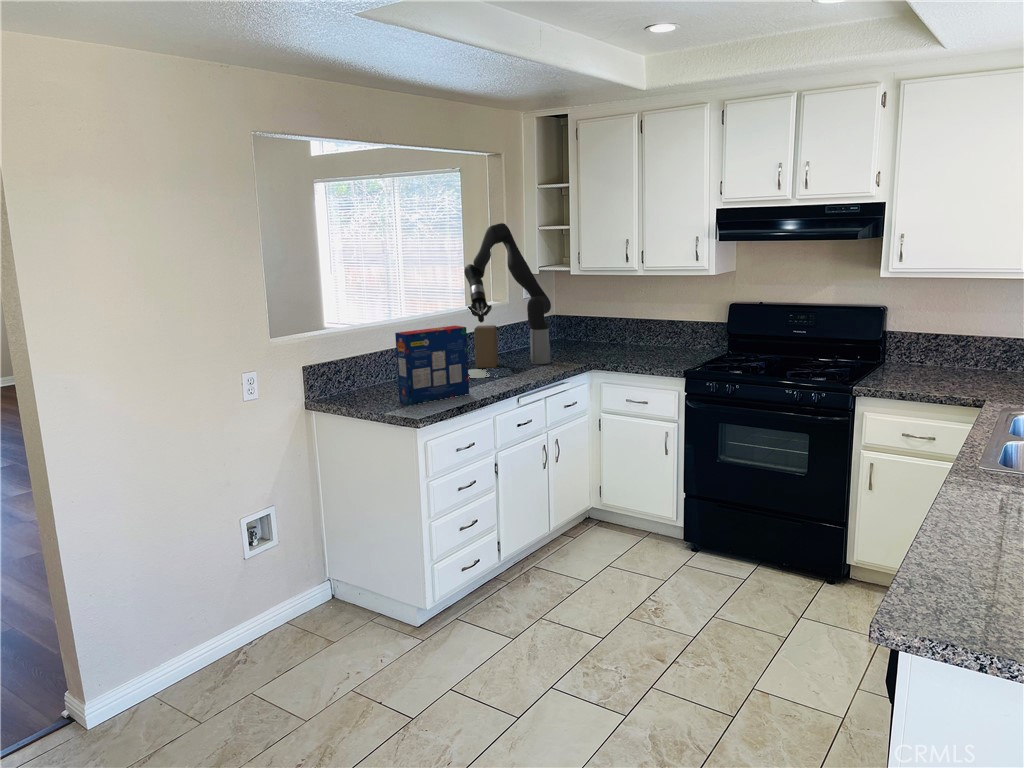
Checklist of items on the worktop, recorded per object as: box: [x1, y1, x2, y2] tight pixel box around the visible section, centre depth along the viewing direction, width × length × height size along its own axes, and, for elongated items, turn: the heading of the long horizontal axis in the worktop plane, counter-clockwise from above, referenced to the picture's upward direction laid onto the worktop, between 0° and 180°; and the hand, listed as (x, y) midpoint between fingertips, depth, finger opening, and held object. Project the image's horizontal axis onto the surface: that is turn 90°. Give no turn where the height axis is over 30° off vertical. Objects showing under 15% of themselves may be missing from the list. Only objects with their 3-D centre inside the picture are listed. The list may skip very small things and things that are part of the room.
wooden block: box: [473, 324, 499, 369], centre depth 376 cm, size 10×10×20 cm
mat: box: [468, 368, 499, 379], centre depth 361 cm, size 22×22×1 cm
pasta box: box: [394, 325, 470, 406], centre depth 308 cm, size 28×8×28 cm, turn 127°
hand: (481, 321), depth 389 cm, fingers closed
